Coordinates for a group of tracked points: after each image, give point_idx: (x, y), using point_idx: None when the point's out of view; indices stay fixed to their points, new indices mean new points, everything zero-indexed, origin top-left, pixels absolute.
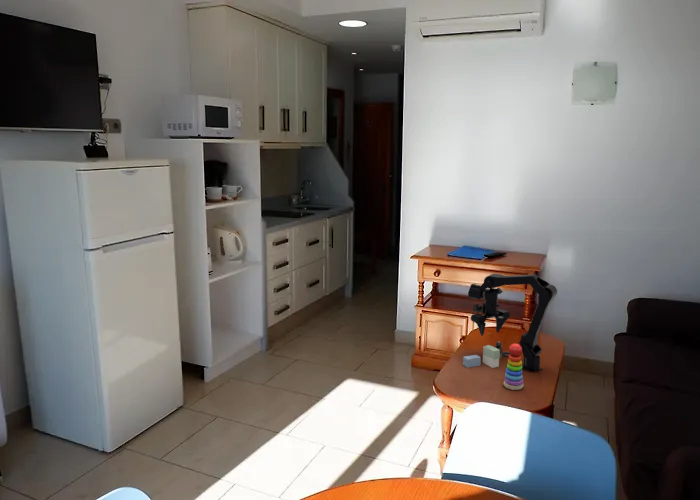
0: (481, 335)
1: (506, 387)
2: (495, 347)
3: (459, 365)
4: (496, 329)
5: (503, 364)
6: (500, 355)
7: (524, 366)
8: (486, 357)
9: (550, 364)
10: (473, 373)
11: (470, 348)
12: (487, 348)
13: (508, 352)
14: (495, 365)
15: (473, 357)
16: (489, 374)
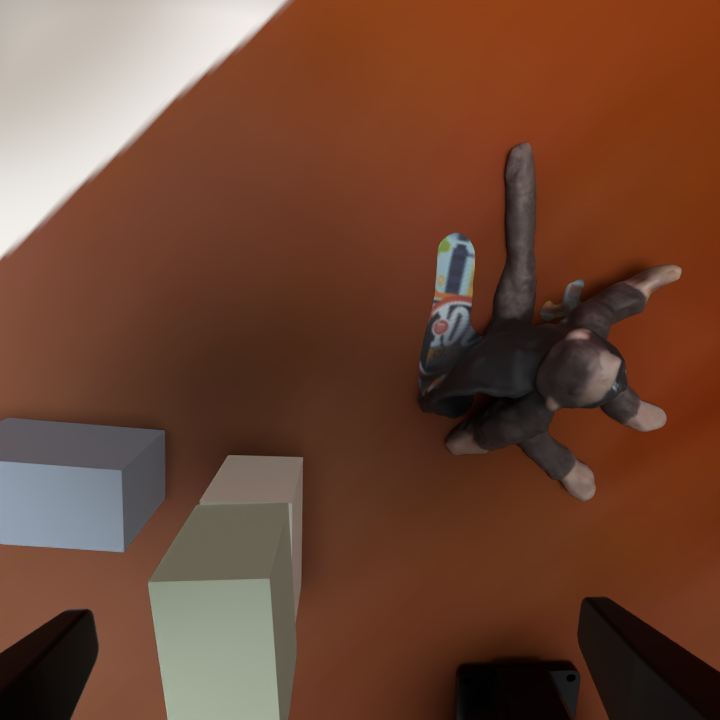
0: (77, 623)
1: None
2: (492, 394)
3: None
4: (625, 655)
5: (372, 567)
6: (469, 450)
7: (479, 689)
8: None
9: None
10: (7, 601)
11: (353, 65)
12: (160, 658)
13: (615, 405)
14: None
15: (39, 522)
16: (127, 663)
